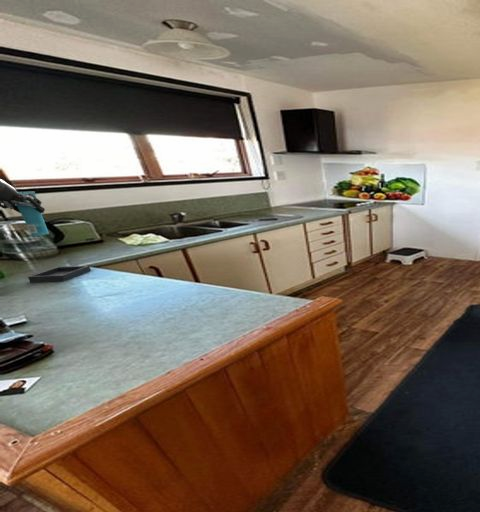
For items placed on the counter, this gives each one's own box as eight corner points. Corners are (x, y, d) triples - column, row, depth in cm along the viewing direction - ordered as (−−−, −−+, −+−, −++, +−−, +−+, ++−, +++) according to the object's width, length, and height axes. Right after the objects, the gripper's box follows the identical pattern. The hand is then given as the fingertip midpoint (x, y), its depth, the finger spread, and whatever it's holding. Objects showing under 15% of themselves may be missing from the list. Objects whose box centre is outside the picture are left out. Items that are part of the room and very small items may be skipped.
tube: (54, 232, 127) (37, 190, 120) (50, 234, 123) (31, 191, 117) (30, 235, 123) (11, 191, 117) (25, 237, 119) (5, 192, 113)
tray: (30, 282, 122) (27, 276, 121) (59, 271, 134) (57, 266, 133) (64, 280, 123) (62, 275, 122) (91, 270, 135) (89, 265, 134)
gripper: (19, 178, 109) (56, 204, 124) (-28, 179, 106) (16, 205, 121) (11, 193, 106) (51, 217, 121) (-37, 194, 103) (9, 219, 118)
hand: (33, 211), depth 121 cm, fingers closed on tube, 6 cm apart
